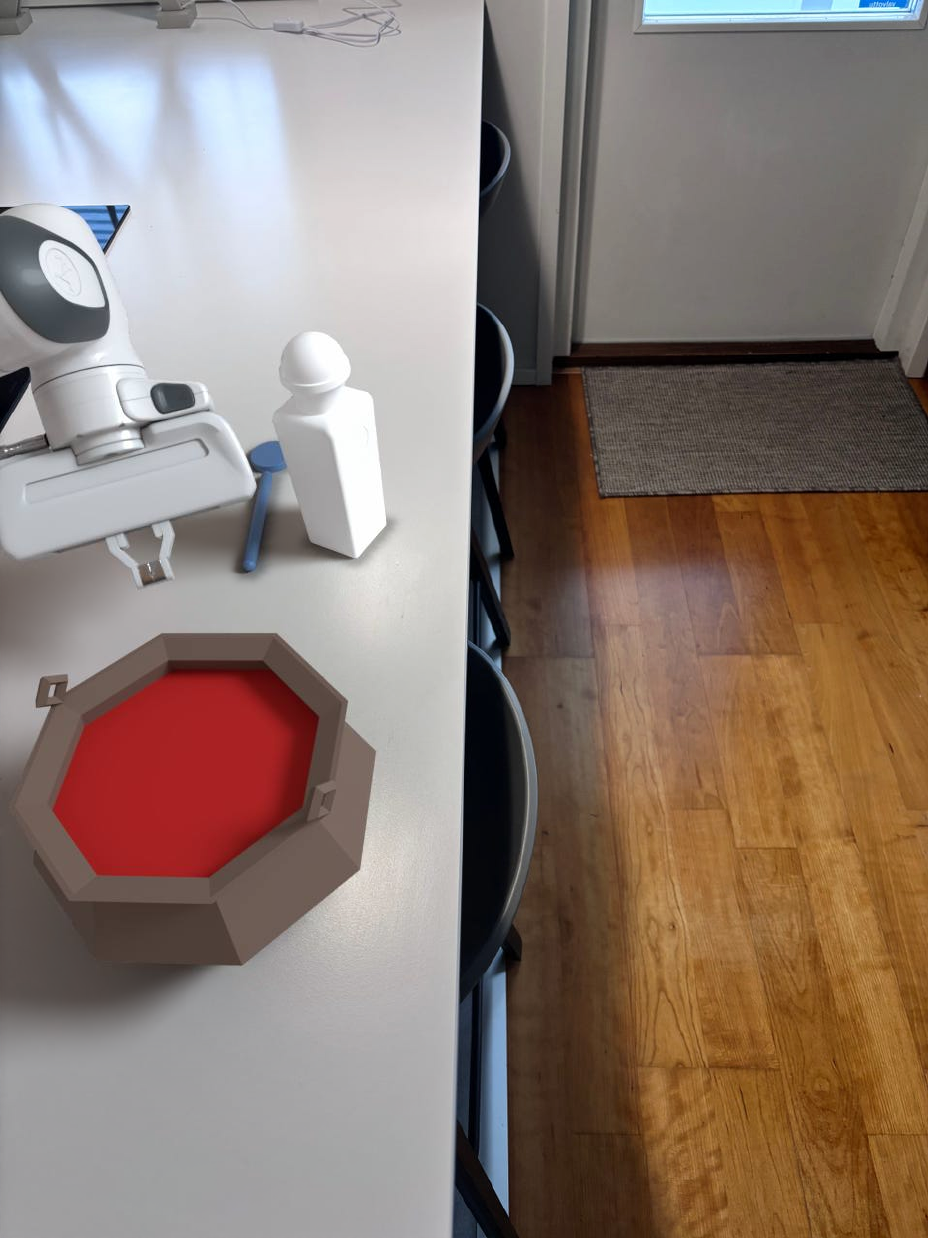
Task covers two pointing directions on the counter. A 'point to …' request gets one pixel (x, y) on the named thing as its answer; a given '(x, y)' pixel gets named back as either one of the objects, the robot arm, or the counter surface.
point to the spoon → (262, 495)
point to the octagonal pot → (194, 798)
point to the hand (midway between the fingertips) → (156, 584)
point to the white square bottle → (330, 446)
